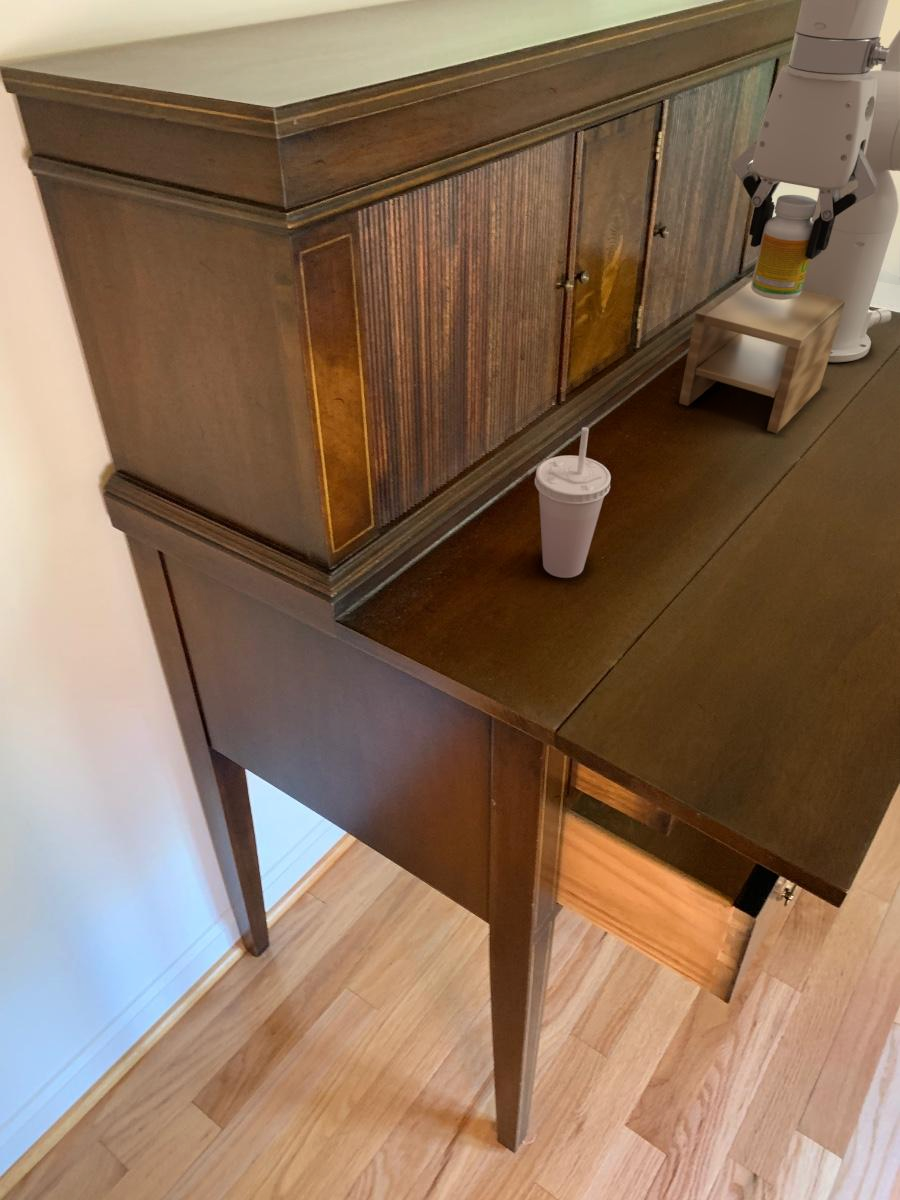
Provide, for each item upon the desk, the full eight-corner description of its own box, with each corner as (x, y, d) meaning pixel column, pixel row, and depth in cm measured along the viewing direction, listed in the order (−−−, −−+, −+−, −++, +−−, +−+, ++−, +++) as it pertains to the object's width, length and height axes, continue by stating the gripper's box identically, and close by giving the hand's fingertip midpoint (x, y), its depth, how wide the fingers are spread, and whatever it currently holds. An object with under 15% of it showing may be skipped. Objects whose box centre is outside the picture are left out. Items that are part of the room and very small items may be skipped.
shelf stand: (727, 362, 117) (745, 276, 110) (819, 389, 111) (845, 300, 104) (678, 403, 108) (695, 312, 101) (776, 433, 103) (801, 340, 96)
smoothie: (595, 591, 80) (615, 451, 72) (523, 581, 81) (534, 443, 73) (601, 549, 85) (620, 413, 76) (532, 540, 86) (544, 405, 77)
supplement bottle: (803, 302, 99) (827, 209, 93) (752, 298, 100) (773, 205, 94) (797, 284, 104) (820, 194, 97) (748, 281, 104) (768, 190, 98)
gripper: (935, 61, 86) (876, 257, 97) (760, 41, 94) (725, 225, 105) (912, 73, 81) (853, 277, 93) (730, 51, 89) (696, 242, 100)
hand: (785, 247), depth 99 cm, fingers closed on supplement bottle, 5 cm apart
